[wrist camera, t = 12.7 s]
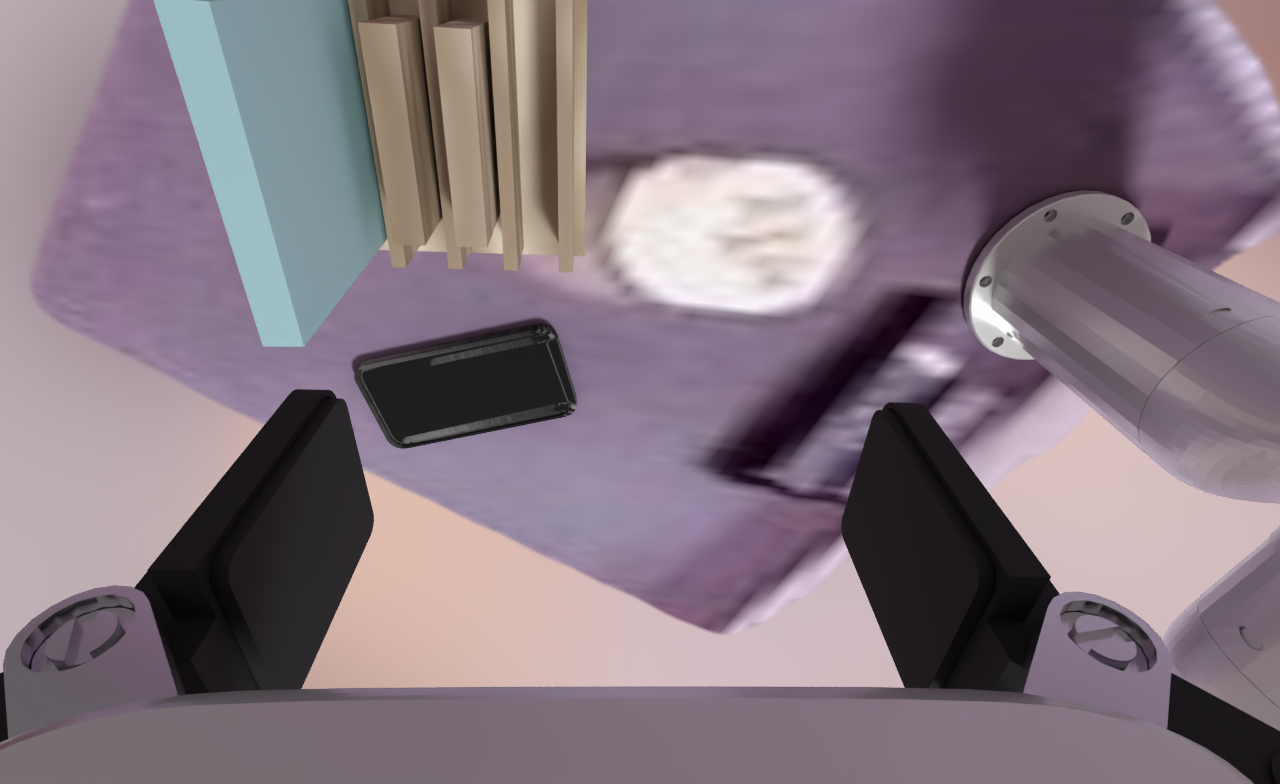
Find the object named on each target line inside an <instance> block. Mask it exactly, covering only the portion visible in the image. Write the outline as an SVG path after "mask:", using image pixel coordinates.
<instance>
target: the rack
mask: <svg viewBox="0 0 1280 784" xmlns="http://www.w3.org/2000/svg"><path fill="white" fill-rule="evenodd" d="M348 4H349V10H350V16H351V22H352V28H353V34H354V40H355V46H356V52H357V58H358V64H359V70H360V76H361V82H362V88H363V94H364V100H365V106H366V112H367V118H368V124H369V130H370V136H371V142H372V148H373V154H374V161H375V167H376V173H377V179H378V185H379V191H380V197H381V203H382V209H383V215H384V221H385V227H386V233H387V240H386V241H385V242H384V244H383V245H382V246H381V248H380V249H379V250H389V251H390V257H391V263H392V267H399V268H407V266H408V264H409V263H410V261H411V260H412V258H413V256H414V255H415V253H416V252H417V251H437V252H447V258H448V267H449V269H463V267H464V265H465V263H466V260H467V258H468V256H469V253H503V258H504V270H507V271H518V269H519V265H520V261H521V257H522V254H537V255H559V272H573V256H585V183H586V88H587V0H348ZM398 14H399V15H415V16H420V22H421V31H422V39H423V48H424V57H425V66H426V74H427V83H428V92H429V101H430V110H431V118H432V127H433V136H434V145H435V153H436V162H437V171H438V180H439V188H440V197H441V206H442V215H443V217H442V219H441V220H440V222H439V224H438V225H437V227H436V229H435V230H434V232H433V233H432V235H431V237H430V238H429V240H428V242H427V243H426V245H425V246H420V245H393V239H392V232H391V226H390V220H389V214H388V208H387V201H386V195H385V189H384V183H383V176H382V170H381V164H380V158H379V152H378V145H377V139H376V133H375V127H374V121H373V114H372V108H371V102H370V96H369V90H368V83H367V77H366V71H365V65H364V59H363V52H362V46H361V40H360V34H359V28H358V22H361V21H367V20H372V19H377V18H382V17H388V16H393V15H398ZM460 18H463V19H479V20H489V36H490V52H491V68H492V84H493V99H494V115H495V131H496V147H497V163H498V178H499V194H500V210H501V213H500V215H499V218H498V221H497V223H496V226H495V229H494V231H493V234H492V237H491V239H490V242H489V245H488V247H487V248H485V247H456V238H455V229H454V219H453V209H452V200H451V190H450V181H449V171H448V162H447V152H446V143H445V133H444V124H443V114H442V105H441V95H440V86H439V76H438V67H437V57H436V47H435V38H434V28H433V27H434V26H438V25H441V24H444V23H447V22H450V21H453V20H457V19H460Z"/></svg>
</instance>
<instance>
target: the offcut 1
mask: <svg viewBox="0 0 1280 784" xmlns="http://www.w3.org/2000/svg"><path fill="white" fill-rule="evenodd" d="M358 28H359V34H360V40H361V46H362V52H363V59H364V65H365V71H366V77H367V83H368V90H369V96H370V102H371V108H372V114H373V121H374V127H375V133H376V139H377V145H378V152H379V158H380V164H381V170H382V176H383V183H384V189H385V195H386V201H387V208H388V214H389V220H390V226H391V232H392V239H393V245H420V246H425V245H426V243H427V242H428V240H429V238H430V237H431V235H432V233H433V232H434V230H435V229H436V227H437V225H438V224H439V222H440V220H441V219H442V217H443V215H442V206H441V197H440V188H439V180H438V171H437V162H436V153H435V145H434V136H433V127H432V118H431V110H430V101H429V92H428V83H427V74H426V66H425V57H424V48H423V39H422V31H421V22H420V16H415V15H399V14H398V15H393V16H388V17H382V18H377V19H372V20H367V21H361V22H358Z"/></svg>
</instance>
